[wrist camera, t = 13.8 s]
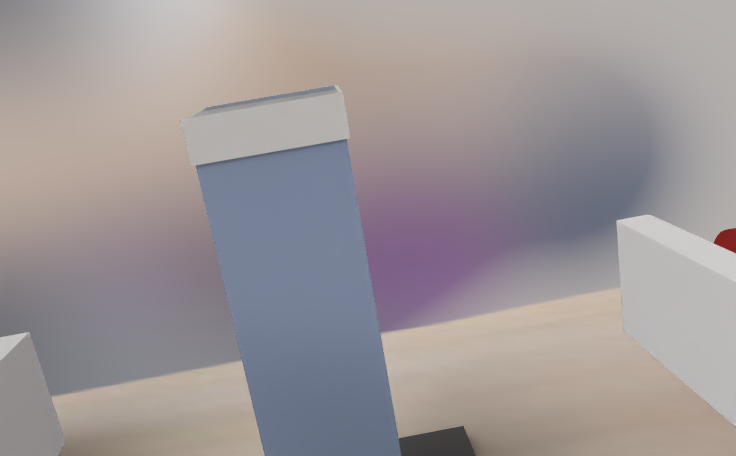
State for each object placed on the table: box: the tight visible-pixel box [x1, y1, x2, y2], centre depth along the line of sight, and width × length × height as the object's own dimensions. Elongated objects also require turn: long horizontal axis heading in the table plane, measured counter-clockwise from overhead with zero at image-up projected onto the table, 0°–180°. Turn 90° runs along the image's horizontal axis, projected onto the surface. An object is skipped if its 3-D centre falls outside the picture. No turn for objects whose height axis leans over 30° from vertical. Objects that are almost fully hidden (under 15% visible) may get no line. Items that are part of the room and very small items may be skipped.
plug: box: [180, 85, 401, 456], centre depth 21 cm, size 4×4×15 cm
